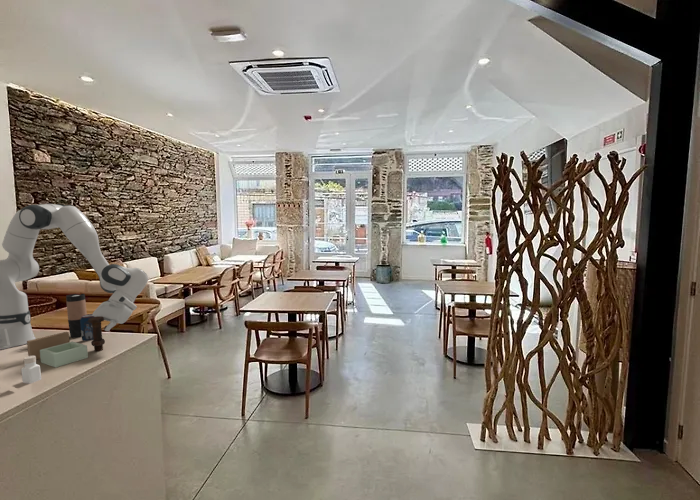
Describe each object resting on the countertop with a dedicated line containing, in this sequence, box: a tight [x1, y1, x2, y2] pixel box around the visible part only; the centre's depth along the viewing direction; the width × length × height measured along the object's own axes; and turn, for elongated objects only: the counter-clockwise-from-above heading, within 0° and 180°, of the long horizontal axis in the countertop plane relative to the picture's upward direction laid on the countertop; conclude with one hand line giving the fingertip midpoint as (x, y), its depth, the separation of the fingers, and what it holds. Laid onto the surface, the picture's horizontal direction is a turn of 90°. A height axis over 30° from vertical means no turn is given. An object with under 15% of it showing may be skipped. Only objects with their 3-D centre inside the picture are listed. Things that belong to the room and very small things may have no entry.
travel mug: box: [65, 293, 88, 339], centre depth 195 cm, size 8×8×20 cm
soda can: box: [80, 313, 94, 342], centre depth 187 cm, size 7×7×12 cm
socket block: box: [40, 341, 89, 368], centre depth 159 cm, size 12×12×5 cm
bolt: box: [88, 316, 106, 352], centre depth 169 cm, size 6×5×15 cm
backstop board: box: [26, 331, 71, 361], centre depth 161 cm, size 21×14×9 cm, turn 60°
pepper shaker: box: [20, 355, 42, 384], centre depth 139 cm, size 4×4×10 cm
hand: (99, 329), depth 170 cm, fingers open, 8 cm apart
